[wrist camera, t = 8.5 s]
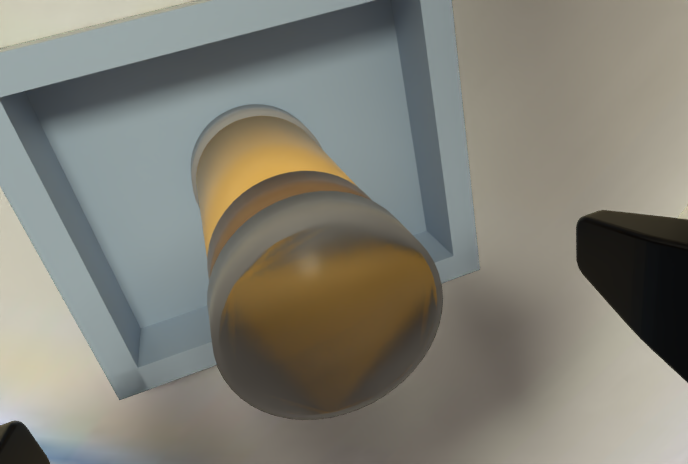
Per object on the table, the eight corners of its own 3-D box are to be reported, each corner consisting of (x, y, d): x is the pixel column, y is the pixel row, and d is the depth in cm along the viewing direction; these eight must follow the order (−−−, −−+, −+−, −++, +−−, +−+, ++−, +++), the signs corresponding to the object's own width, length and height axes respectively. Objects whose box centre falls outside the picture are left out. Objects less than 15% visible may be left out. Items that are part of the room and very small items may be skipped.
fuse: (302, 88, 14) (426, 183, 8) (331, 205, 16) (454, 371, 9) (171, 125, 14) (174, 264, 7) (214, 243, 16) (252, 451, 9)
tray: (403, -51, 14) (445, -57, 12) (443, 236, 19) (480, 269, 16) (-25, 54, 13) (-66, 69, 10) (125, 346, 17) (119, 400, 15)
